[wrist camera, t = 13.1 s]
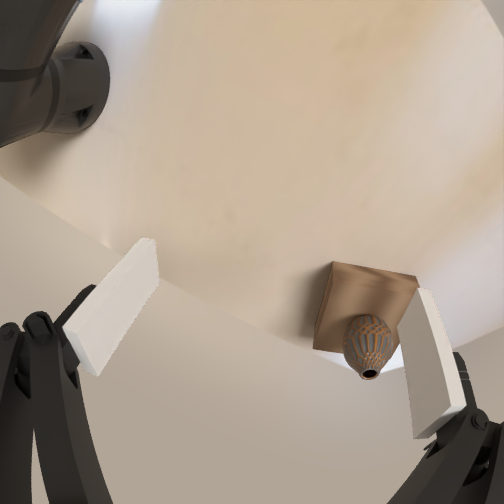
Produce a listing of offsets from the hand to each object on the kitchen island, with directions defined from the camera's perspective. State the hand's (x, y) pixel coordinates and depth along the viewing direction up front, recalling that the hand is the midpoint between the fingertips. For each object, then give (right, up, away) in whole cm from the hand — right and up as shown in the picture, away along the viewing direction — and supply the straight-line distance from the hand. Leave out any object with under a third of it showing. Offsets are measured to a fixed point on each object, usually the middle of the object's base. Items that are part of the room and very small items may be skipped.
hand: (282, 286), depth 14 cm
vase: (+15, -9, +25) cm, 30 cm away
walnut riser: (+16, -6, +29) cm, 34 cm away
